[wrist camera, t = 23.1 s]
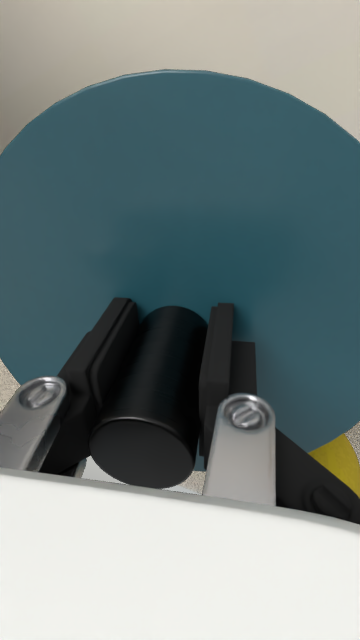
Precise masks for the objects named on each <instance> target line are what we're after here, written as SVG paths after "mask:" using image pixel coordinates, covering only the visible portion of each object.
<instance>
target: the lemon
mask: <svg viewBox="0 0 360 640" xmlns="http://www.w3.org/2000/svg"><path fill="white" fill-rule="evenodd" d="M308 454H309V455H310V456H312V457H313V458H314V459H315V460H316V461H318V462H319V463H320V464H321V465H323V466H324V467H325V468H326V469H328V470H329V471H330V472H331V473H332V474H334V475H335V476H336V477H337V478H339V479H340V480H341V481H342V482H344V483H345V484H346V485H347V486H349V487H350V488H351V489H352V490H353V491H354V492H355V493H356V494H357V495H358V497H359V498H360V466H359V462H358V459H357V456H356V454H355V451H354V449H353V448H352V446H351V444H350V442H349V440H348V439H347V437H346V436H345V434H344V433H343V434H342V435H340V436H339V437H337V438H336V439H334V440H333V441H331V442H329V443H327V444H325V445H323V446H321V447H319V448H317V449H315V450H313V451H311V452H309V453H308Z"/></svg>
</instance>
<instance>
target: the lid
mask: <svg viewBox="0 0 360 640" xmlns="http://www.w3.org/2000/svg"><path fill="white" fill-rule="evenodd" d="M114 297H119V298H130V299H131V300H132V302H136V304H137V310H138V319H139V330H138V332H137V334H136V336H135V338H134V340H133V343H132V345H131V347H130V349H129V351H128V353H127V355H126V357H125V359H124V362H123V364H122V366H121V368H120V370H119V372H118V374H117V376H116V378H115V381H114V383H113V385H112V387H111V389H110V391H109V393H108V395H107V397H106V399H105V402H104V404H103V406H102V408H101V410H100V412H99V414H98V416H97V418H96V421H95V423H94V425H93V427H92V429H91V431H90V433H89V437H88V448H89V452H90V455H91V456H92V458H93V460H94V461H95V463H96V464H97V465H98V466H99V467H100V468H101V469H102V470H103V471H104V472H106V473H107V474H108V475H110V476H112V477H113V478H115V479H117V480H119V481H121V482H124V483H126V484H129V485H134V486H141V487H148V488H155V489H163V488H169V487H173V486H176V485H178V484H180V483H182V482H184V481H185V480H186V479H187V478H188V477H189V476H190V475H191V473H192V471H206V470H205V469H204V457H202V456H199V434H200V418H199V378H200V370H201V365H202V359H203V353H204V347H205V341H206V336H207V330H208V324H209V318H210V312H211V307H212V306H216V307H217V306H218V302H219V303H234V311H233V328H232V341H245V342H255V353H256V379H257V396H259V397H261V398H263V399H265V400H266V401H267V402H268V403H269V404H270V405H271V407H272V408H273V410H274V414H275V427H276V428H277V429H278V430H279V431H281V432H282V433H283V434H284V435H286V436H287V437H288V438H289V439H291V440H292V441H293V442H294V443H296V444H297V445H298V446H299V447H300V448H302V449H303V450H304V451H305V452H307V453H309V452H311V451H313V450H315V449H317V448H319V447H321V446H323V445H325V444H327V443H329V442H331V441H333V440H334V439H336V438H337V437H339V436H340V435H342V434H343V433H345V432H346V431H348V430H349V429H351V428H352V427H353V426H354V425H356V424H357V423H358V422H359V421H360V143H359V141H358V140H357V139H355V138H354V137H353V136H352V135H350V134H349V133H348V132H347V131H346V130H344V129H343V128H342V127H341V126H339V125H338V124H337V123H336V122H334V121H333V120H332V119H331V118H329V117H328V116H327V115H326V114H324V113H322V112H321V111H319V110H317V109H315V108H313V107H312V106H310V105H308V104H306V103H305V102H303V101H301V100H299V99H298V98H296V97H294V96H292V95H291V94H289V93H286V92H283V91H281V90H278V89H275V88H272V87H270V86H267V85H264V84H262V83H259V82H256V81H253V80H251V79H248V78H243V77H237V76H232V75H227V74H222V73H217V72H211V71H206V70H170V69H163V70H156V71H149V72H141V73H134V74H127V75H122V76H119V77H116V78H113V79H109V80H106V81H103V82H100V83H97V84H94V85H90V86H87V87H85V88H83V89H81V90H80V91H78V92H76V93H74V94H72V95H70V96H68V97H66V98H64V99H62V100H60V101H58V102H56V103H54V104H53V105H52V106H51V107H49V108H48V109H47V110H45V111H44V112H43V113H41V114H40V115H39V116H37V117H36V118H35V119H33V120H32V121H31V122H29V123H28V124H27V125H26V126H25V127H24V128H23V129H22V130H21V132H20V133H19V134H18V135H17V136H16V137H15V138H14V139H13V140H12V141H11V142H10V143H9V144H8V146H7V147H6V148H5V149H4V151H3V153H2V154H1V156H0V358H1V360H2V362H3V363H4V365H5V366H6V367H7V369H8V370H9V371H10V373H11V374H12V375H13V377H14V378H15V379H16V380H17V382H18V383H19V384H20V385H23V384H24V383H26V382H27V381H29V380H32V379H34V378H37V377H41V376H49V375H52V376H57V375H58V373H59V372H60V370H61V369H62V367H63V366H64V365H65V363H66V362H67V360H68V359H69V357H70V356H71V355H72V353H73V352H74V350H75V349H76V347H77V346H78V345H79V343H80V342H81V340H82V339H83V337H84V336H85V334H86V333H87V332H89V331H91V330H92V329H93V327H94V326H95V325H96V323H97V322H98V320H99V319H100V317H101V316H102V314H103V313H104V311H105V310H106V308H107V307H108V305H109V304H110V303H111V301H112V300H113V298H114Z"/></svg>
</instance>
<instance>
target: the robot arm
mask: <svg viewBox="0 0 360 640" xmlns="http://www.w3.org/2000/svg"><path fill="white" fill-rule="evenodd" d="M233 311H234V303H219V302H218V306H217V307H216V306H212V307H211V312H210V318H209V324H208V330H207V336H206V341H205V347H204V353H203V359H202V365H201V370H200V378H199V418H200V434H199V456H202V457H204V469H205V470H206V476H205V482H204V487H203V492H202V495H197V494H190V493H183V492H176V491H169V490H162V489H155V488H148V487H141V486H134V485H126V484H119V483H112V482H104V481H97V480H90V479H82V478H81V477H82V474H83V472H84V469H85V466H86V461H87V460H86V458H87V457H89V456H91V455H90V452H89V448H88V437H89V433H90V431H91V429H92V427H93V425H94V423H95V421H96V418H97V416H98V414H99V412H100V410H101V408H102V406H103V404H104V402H105V399H106V397H107V395H108V393H109V391H110V389H111V387H112V385H113V383H114V381H115V378H116V376H117V374H118V372H119V370H120V368H121V366H122V364H123V362H124V359H125V357H126V355H127V353H128V351H129V349H130V347H131V345H132V343H133V340H134V338H135V336H136V334H137V332H138V330H139V319H138V310H137V304H136V302H132V300H131V299H130V298H119V297H114V298H113V300H112V301H111V303H110V304H109V305H108V307H107V308H106V310H105V311H104V313H103V314H102V316H101V317H100V319H99V320H98V322H97V323H96V325H95V326H94V327H93V329H92V330H91V331H89V332H87V333H86V334H85V336H84V337H83V339H82V340H81V342H80V343H79V345H78V346H77V347H76V349H75V350H74V352H73V353H72V355H71V356H70V357H69V359H68V360H67V362H66V363H65V365H64V366H63V367H62V369H61V370H60V372H59V373H58V375H57V376H52V375H49V376H41V377H37V378H34V379H32V380H29V381H27V382H26V383H24V384H23V385H21V386H20V387H19V388H18V389H17V391H16V392H15V393H14V395H13V396H12V397H11V399H10V400H9V402H8V403H7V404H6V406H5V407H4V409H3V410H2V411H1V412H0V640H360V498H359V497H358V495H357V494H356V493H355V492H354V491H353V490H352V489H351V488H350V487H349V486H347V485H346V484H345V483H344V482H342V481H341V480H340V479H339V478H337V477H336V476H335V475H334V474H332V473H331V472H330V471H329V470H328V469H326V468H325V467H324V466H323V465H321V464H320V463H319V462H318V461H316V460H315V459H314V458H313V457H312V456H310V455H309V454H308V453H307V452H305V451H304V450H303V449H302V448H300V447H299V446H298V445H297V444H296V443H294V442H293V441H292V440H291V439H289V438H288V437H287V436H286V435H284V434H283V433H282V432H281V431H279V430H278V429H277V428H276V427H275V414H274V410H273V408H272V407H271V405H270V404H269V403H268V402H267V401H266V400H265V399H263V398H261V397H259V396H257V379H256V353H255V342H245V341H232V328H233Z"/></svg>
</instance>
